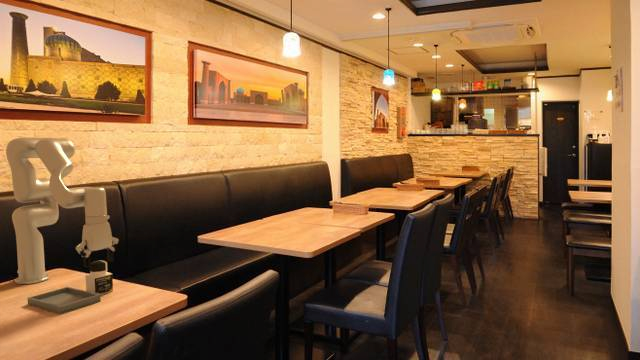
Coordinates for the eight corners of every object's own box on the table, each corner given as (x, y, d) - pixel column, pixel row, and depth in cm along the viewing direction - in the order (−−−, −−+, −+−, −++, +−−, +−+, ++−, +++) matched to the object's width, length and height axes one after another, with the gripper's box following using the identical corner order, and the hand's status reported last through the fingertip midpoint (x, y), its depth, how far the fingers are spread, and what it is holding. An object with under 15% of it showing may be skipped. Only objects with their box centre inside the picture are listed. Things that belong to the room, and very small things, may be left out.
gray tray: (27, 304, 170) (27, 297, 169) (68, 292, 182) (68, 286, 182) (60, 314, 159) (59, 307, 159) (100, 301, 172) (100, 294, 172)
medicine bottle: (95, 296, 178) (93, 264, 177) (86, 292, 182) (84, 262, 181) (113, 291, 184) (112, 261, 183) (103, 288, 188) (102, 258, 187)
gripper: (110, 216, 190) (113, 258, 191) (68, 223, 175) (71, 268, 176) (122, 217, 186) (125, 260, 187) (81, 224, 171) (84, 270, 173)
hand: (99, 264), depth 182 cm, fingers open, 9 cm apart
